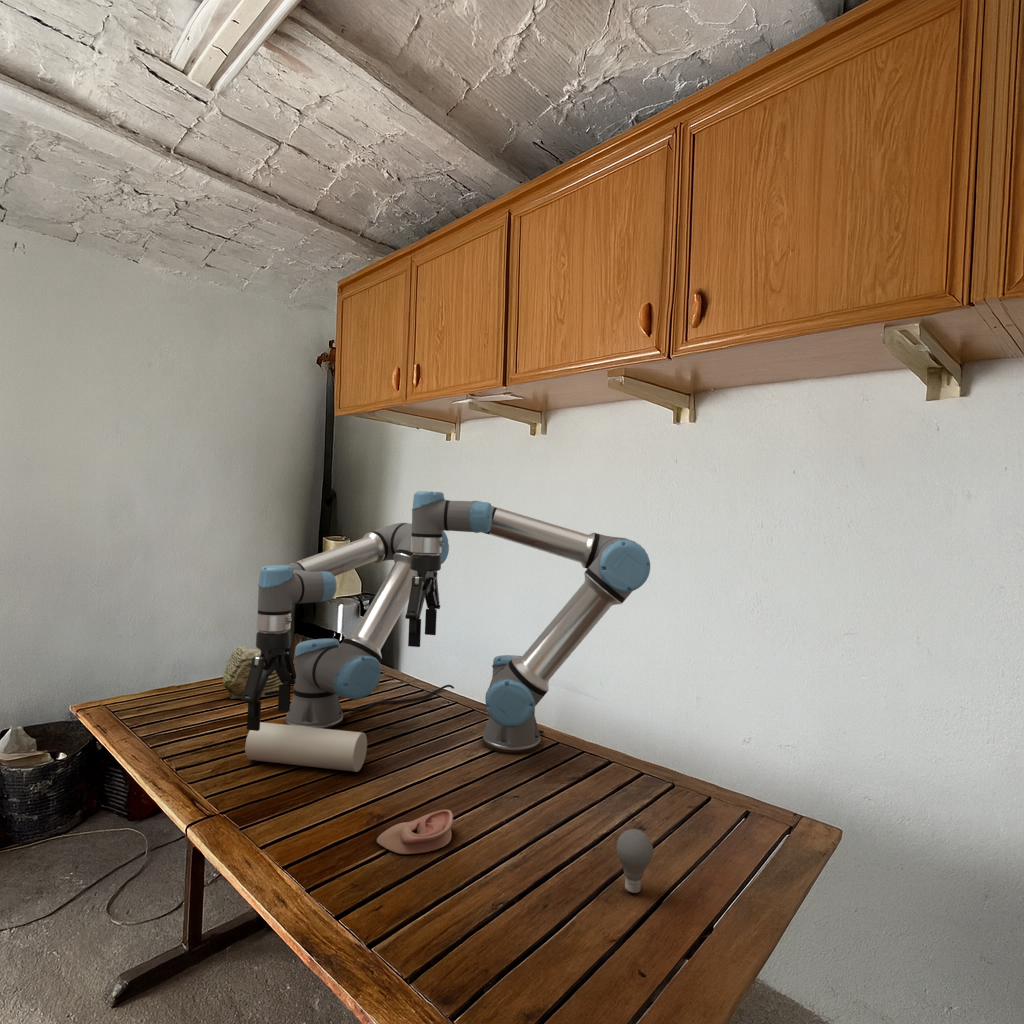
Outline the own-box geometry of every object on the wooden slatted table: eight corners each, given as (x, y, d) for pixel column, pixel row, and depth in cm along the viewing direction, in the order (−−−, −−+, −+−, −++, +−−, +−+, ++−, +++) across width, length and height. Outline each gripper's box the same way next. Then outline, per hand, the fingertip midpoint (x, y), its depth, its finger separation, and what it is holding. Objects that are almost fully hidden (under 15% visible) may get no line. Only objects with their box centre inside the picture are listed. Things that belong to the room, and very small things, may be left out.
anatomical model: (370, 827, 114) (394, 798, 126) (369, 849, 114) (393, 818, 126) (440, 838, 112) (458, 808, 123) (439, 860, 112) (458, 828, 123)
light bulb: (610, 879, 108) (613, 822, 108) (644, 879, 109) (647, 822, 109) (619, 902, 102) (622, 840, 102) (655, 901, 103) (658, 840, 103)
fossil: (218, 695, 195) (220, 647, 195) (278, 685, 208) (279, 640, 207) (228, 703, 189) (230, 653, 188) (289, 692, 201) (290, 645, 201)
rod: (244, 765, 147) (245, 729, 147) (264, 751, 156) (265, 716, 155) (352, 778, 143) (353, 740, 143) (366, 762, 152) (367, 727, 151)
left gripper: (259, 642, 137) (254, 740, 137) (312, 623, 162) (308, 705, 162) (227, 640, 138) (223, 736, 138) (285, 620, 163) (281, 702, 163)
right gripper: (426, 559, 142) (422, 653, 143) (453, 551, 167) (449, 631, 167) (394, 557, 143) (390, 650, 144) (425, 549, 168) (422, 629, 168)
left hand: (269, 720), depth 150 cm, fingers open, 13 cm apart
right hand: (422, 640), depth 156 cm, fingers open, 13 cm apart
